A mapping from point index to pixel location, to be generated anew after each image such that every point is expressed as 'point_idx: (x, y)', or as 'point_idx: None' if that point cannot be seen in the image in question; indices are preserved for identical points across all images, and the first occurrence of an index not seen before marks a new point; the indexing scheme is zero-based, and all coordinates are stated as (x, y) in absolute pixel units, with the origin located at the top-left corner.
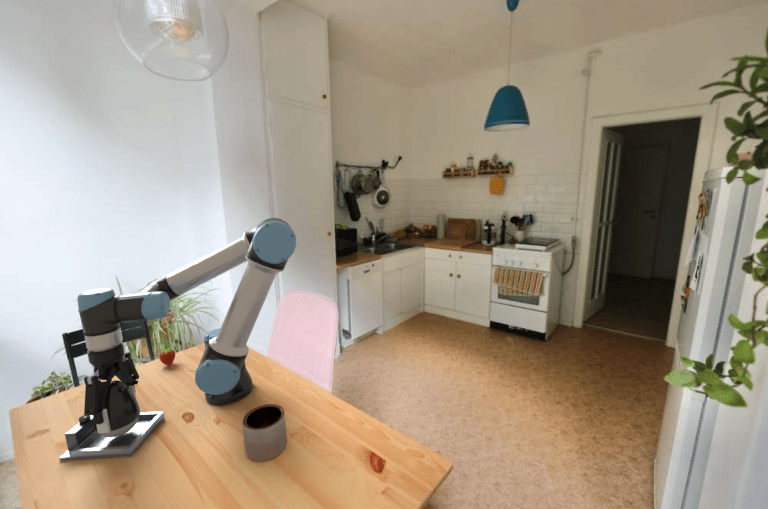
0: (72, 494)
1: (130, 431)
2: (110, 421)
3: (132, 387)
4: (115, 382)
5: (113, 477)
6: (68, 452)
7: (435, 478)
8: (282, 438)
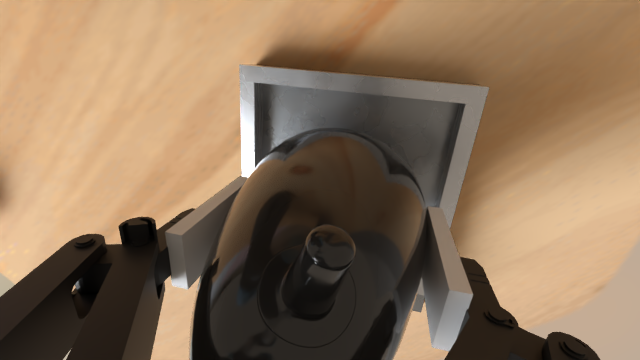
0: (624, 201)
1: None
2: (425, 226)
3: (183, 232)
4: None
5: (591, 97)
6: None
7: None
8: None
